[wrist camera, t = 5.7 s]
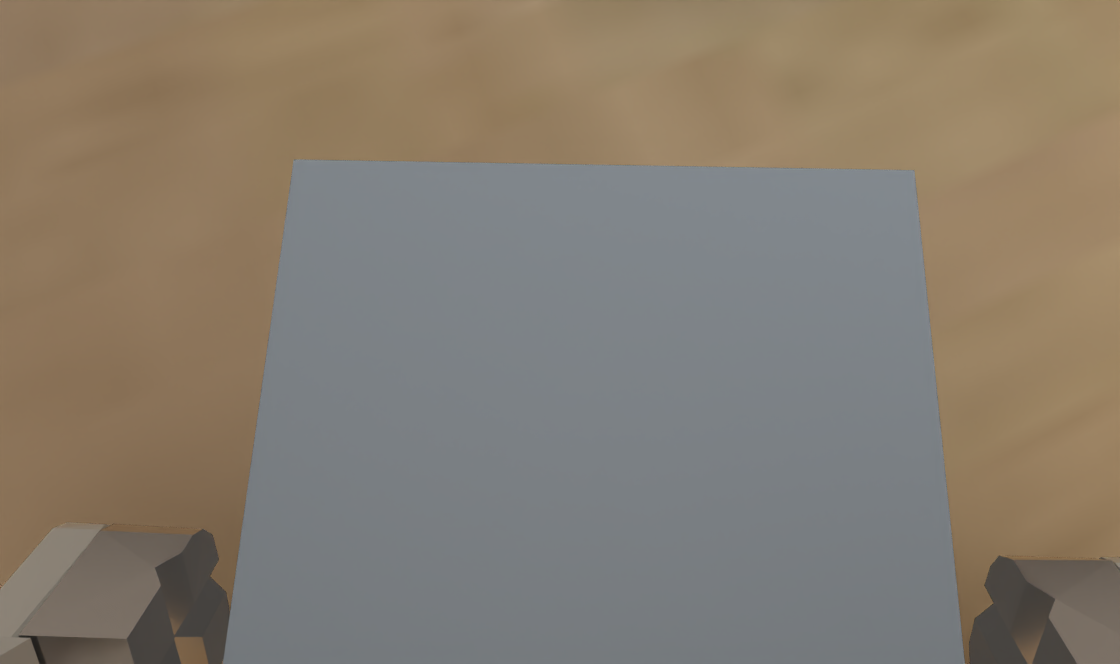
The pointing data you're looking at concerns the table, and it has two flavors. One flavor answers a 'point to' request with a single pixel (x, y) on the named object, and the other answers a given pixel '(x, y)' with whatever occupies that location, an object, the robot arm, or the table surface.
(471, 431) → the gray block
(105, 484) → the table surface
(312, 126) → the table surface
